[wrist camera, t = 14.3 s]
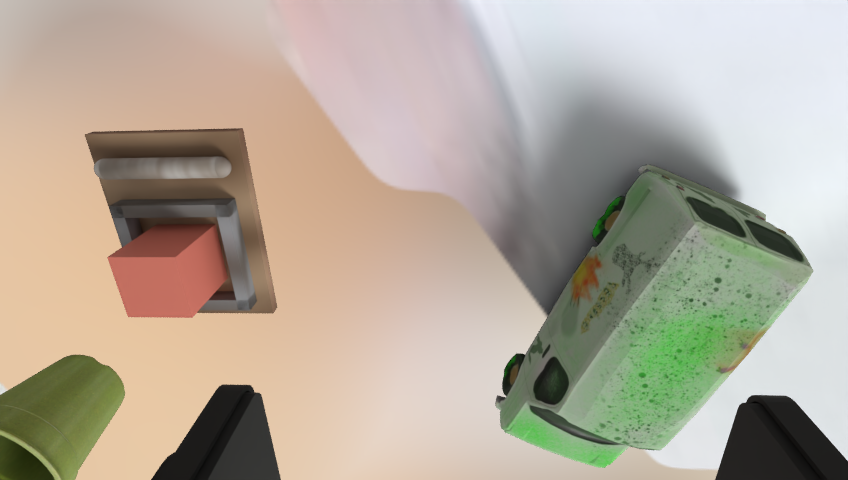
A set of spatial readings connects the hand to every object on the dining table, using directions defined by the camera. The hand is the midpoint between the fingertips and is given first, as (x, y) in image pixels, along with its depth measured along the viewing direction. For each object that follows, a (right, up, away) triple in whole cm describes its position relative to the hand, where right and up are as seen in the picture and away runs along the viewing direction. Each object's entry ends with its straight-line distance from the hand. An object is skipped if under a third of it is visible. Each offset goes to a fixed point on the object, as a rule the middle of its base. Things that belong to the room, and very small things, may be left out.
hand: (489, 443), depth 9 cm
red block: (-21, +3, +30) cm, 37 cm away
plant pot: (-35, -10, +39) cm, 53 cm away
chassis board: (-21, +5, +30) cm, 37 cm away
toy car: (+14, -2, +31) cm, 35 cm away
